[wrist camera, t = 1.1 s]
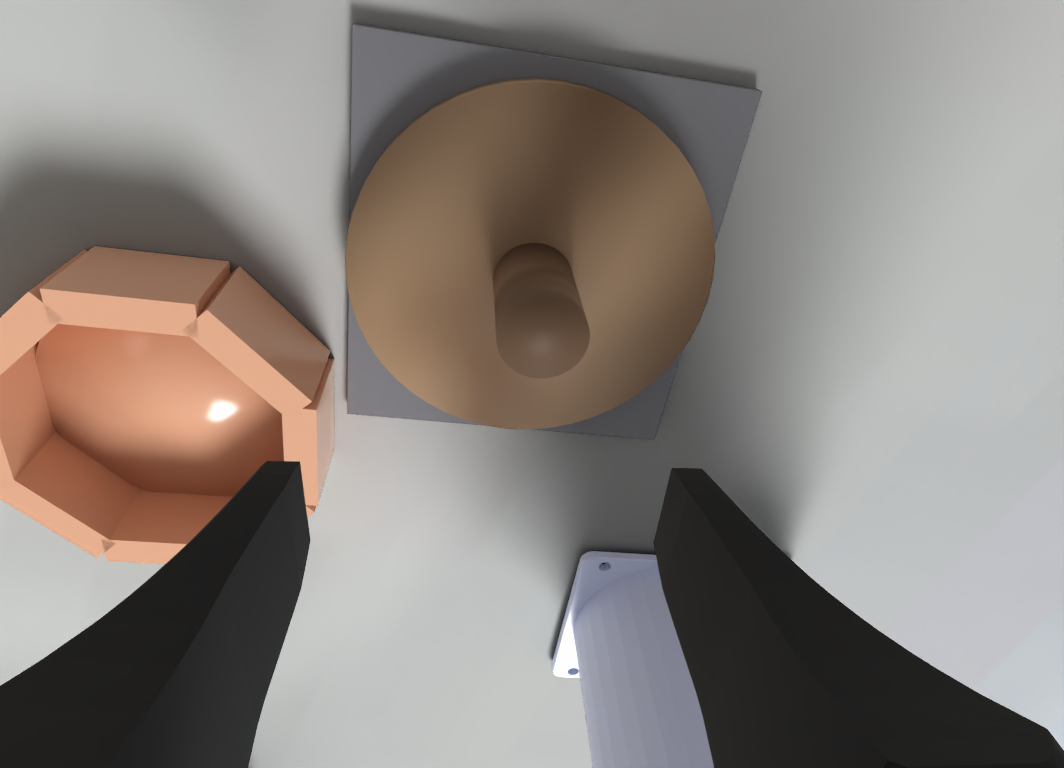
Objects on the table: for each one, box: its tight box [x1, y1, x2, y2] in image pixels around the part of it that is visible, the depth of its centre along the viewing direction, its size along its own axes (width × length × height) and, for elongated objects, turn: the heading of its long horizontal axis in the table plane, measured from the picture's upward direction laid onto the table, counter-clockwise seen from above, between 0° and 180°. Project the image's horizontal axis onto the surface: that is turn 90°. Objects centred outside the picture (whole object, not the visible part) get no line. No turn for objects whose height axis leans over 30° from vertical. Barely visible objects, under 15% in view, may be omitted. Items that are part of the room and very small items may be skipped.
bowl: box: [0, 246, 334, 564], centre depth 22 cm, size 10×10×3 cm
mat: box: [347, 23, 762, 440], centre depth 21 cm, size 11×12×1 cm
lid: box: [345, 78, 715, 429], centre depth 19 cm, size 11×11×4 cm
